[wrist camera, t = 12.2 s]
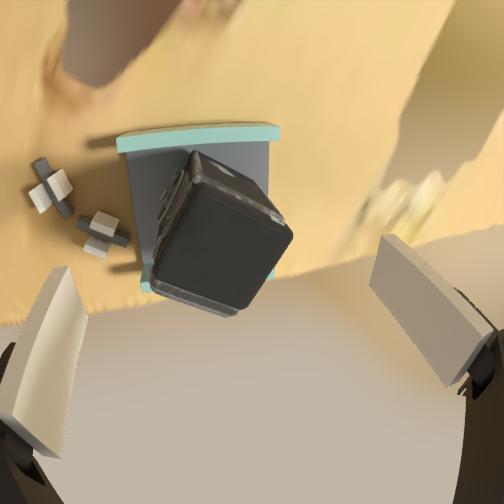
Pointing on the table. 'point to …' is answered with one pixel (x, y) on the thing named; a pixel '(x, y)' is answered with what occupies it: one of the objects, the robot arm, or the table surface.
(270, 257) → the camera
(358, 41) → the table surface
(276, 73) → the table surface
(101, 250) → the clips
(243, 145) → the dock
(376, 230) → the table surface
